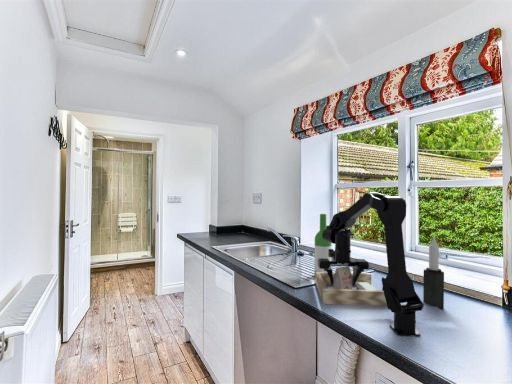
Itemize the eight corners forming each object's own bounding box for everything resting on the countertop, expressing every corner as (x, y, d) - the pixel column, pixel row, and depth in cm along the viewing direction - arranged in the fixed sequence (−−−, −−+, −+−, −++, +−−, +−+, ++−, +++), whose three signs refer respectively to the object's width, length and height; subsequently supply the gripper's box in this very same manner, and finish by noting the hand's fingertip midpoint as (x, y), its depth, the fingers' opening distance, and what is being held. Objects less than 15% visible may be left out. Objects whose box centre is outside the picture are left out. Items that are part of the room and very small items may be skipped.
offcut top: (367, 287, 120) (367, 282, 120) (382, 300, 106) (382, 294, 106) (357, 287, 120) (357, 282, 120) (371, 300, 106) (371, 294, 106)
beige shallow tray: (370, 287, 124) (370, 273, 124) (390, 308, 102) (390, 291, 102) (315, 285, 126) (315, 272, 126) (323, 306, 104) (323, 290, 103)
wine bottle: (320, 281, 132) (320, 215, 132) (311, 276, 140) (311, 213, 139) (334, 279, 135) (335, 214, 135) (324, 274, 142) (325, 213, 142)
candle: (433, 310, 101) (434, 238, 101) (421, 304, 106) (422, 235, 106) (445, 308, 102) (446, 237, 102) (433, 303, 107) (433, 235, 107)
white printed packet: (332, 292, 114) (332, 267, 114) (345, 289, 117) (345, 265, 117) (339, 295, 111) (339, 269, 111) (352, 292, 114) (352, 267, 114)
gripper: (361, 242, 121) (361, 280, 121) (315, 241, 123) (315, 279, 123) (369, 247, 110) (369, 289, 110) (319, 247, 112) (319, 287, 112)
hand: (342, 285), depth 114 cm, fingers closed on white printed packet, 8 cm apart
